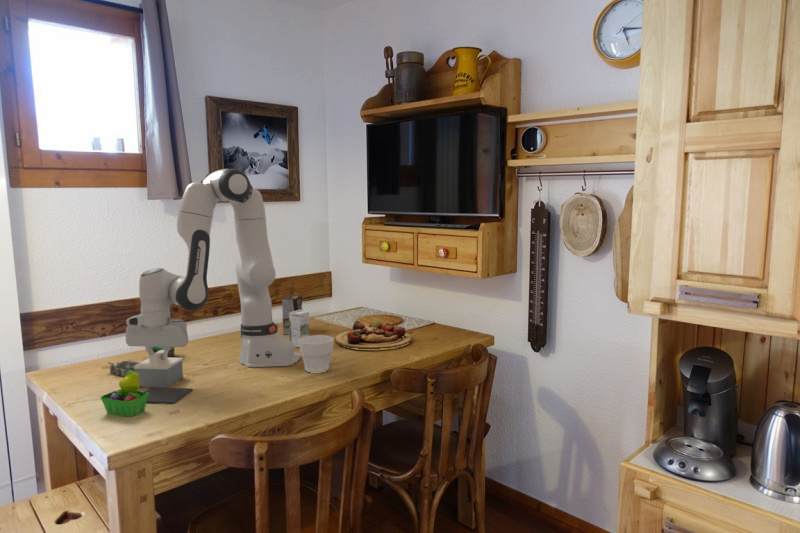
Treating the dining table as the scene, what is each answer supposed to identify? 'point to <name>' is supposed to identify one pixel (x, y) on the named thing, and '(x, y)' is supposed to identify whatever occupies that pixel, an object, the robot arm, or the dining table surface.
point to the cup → (316, 352)
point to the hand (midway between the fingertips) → (158, 359)
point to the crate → (160, 376)
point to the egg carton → (127, 366)
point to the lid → (157, 362)
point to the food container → (156, 349)
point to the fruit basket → (126, 397)
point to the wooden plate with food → (373, 336)
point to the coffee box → (290, 310)
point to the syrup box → (298, 326)
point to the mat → (166, 394)
